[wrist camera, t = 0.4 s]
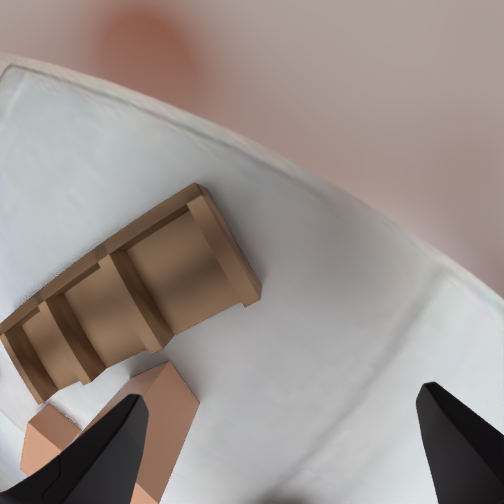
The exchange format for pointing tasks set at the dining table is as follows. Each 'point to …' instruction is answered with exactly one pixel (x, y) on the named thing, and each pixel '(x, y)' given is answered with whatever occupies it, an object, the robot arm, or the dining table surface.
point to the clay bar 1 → (46, 439)
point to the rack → (130, 295)
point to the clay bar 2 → (158, 426)
